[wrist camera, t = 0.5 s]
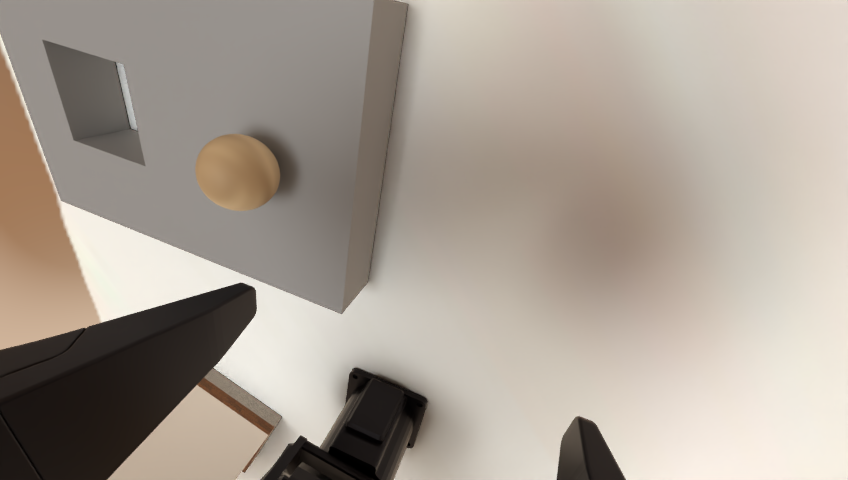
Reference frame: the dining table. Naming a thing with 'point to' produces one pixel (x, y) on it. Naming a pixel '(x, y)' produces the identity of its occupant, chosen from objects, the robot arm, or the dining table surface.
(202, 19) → the grey flat block
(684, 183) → the dining table surface
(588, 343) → the dining table surface
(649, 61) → the dining table surface
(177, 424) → the grey striped pillar
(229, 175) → the ball
